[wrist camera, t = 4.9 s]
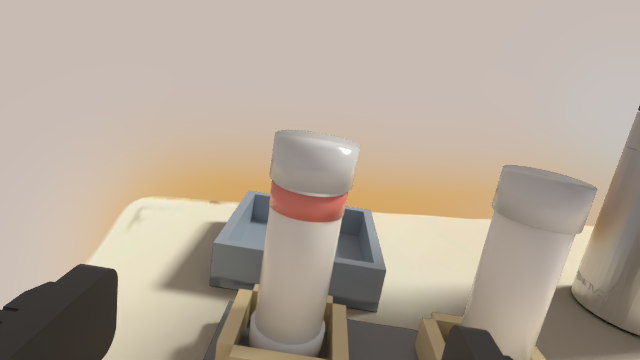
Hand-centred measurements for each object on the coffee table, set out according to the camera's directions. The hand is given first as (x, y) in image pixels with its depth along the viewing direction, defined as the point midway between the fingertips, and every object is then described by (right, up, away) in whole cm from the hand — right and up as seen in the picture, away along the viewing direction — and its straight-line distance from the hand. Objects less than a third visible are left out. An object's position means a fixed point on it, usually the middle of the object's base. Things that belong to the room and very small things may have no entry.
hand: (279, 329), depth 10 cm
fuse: (+10, -8, +13) cm, 18 cm away
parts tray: (-1, -4, +26) cm, 27 cm away
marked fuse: (-1, -6, +13) cm, 14 cm away
